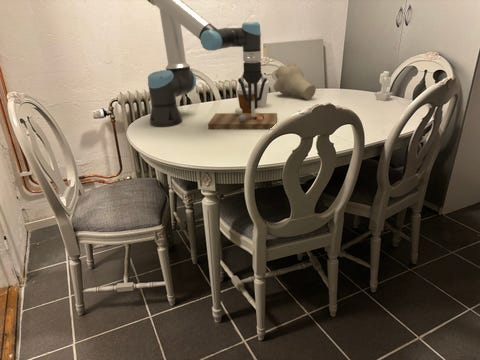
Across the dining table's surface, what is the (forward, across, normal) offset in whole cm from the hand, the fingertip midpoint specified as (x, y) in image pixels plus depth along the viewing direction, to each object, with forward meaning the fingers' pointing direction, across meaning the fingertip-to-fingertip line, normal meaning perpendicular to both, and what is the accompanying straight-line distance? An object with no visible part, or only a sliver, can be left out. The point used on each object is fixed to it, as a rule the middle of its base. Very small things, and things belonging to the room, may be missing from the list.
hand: (253, 115), depth 161 cm
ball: (+2, +3, 0) cm, 4 cm away
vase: (+4, +20, +54) cm, 58 cm away
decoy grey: (0, -4, -6) cm, 8 cm away
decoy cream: (0, -8, +6) cm, 10 cm away
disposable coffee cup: (+4, -6, +20) cm, 21 cm away
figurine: (+4, +68, +47) cm, 82 cm away
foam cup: (+4, 0, +33) cm, 33 cm away
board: (+4, -4, 0) cm, 6 cm away
